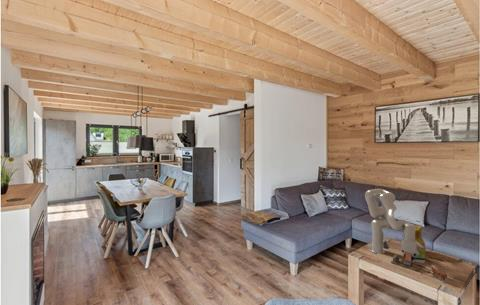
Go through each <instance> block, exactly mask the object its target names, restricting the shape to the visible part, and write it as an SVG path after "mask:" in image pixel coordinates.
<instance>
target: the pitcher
mask: <svg viewBox="0 0 480 305" xmlns="http://www.w3.org/2000/svg"><path fill="white" fill-rule="evenodd" d="M414 225H415V241H417V242H419V243H420V244H421V245H423V246H424V247H425V248H426V243H425V241H424V239H423V237H422V230H423V227H422V226H420V225H416V224H414Z"/></svg>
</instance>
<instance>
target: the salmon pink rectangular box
mask: <svg viewBox="0 0 480 305" xmlns="http://www.w3.org/2000/svg"><path fill="white" fill-rule="evenodd" d="M411 256H412V253H409V252H406V254H405V257H404V261H403V265H406V266H409V267H411V266H412V265H413V261H411Z"/></svg>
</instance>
